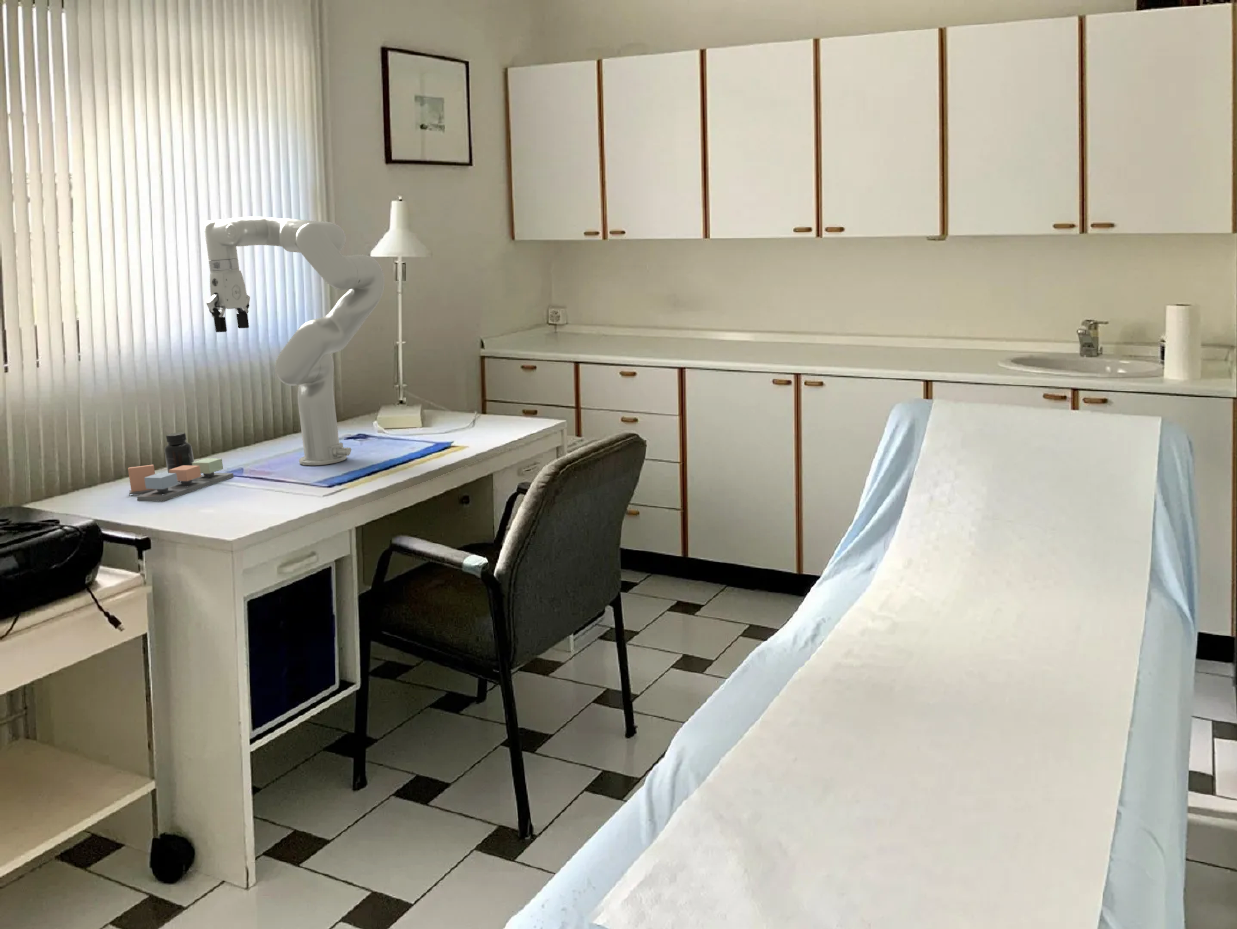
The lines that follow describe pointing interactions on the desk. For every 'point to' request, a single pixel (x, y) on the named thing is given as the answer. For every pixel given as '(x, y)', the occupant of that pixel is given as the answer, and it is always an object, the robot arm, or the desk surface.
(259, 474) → the desk surface
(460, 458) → the desk surface
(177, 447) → the supplement bottle
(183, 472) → the button terracotta
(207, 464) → the button sage
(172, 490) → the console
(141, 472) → the upright salmon panel
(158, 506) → the desk surface
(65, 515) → the desk surface
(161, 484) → the button slate
